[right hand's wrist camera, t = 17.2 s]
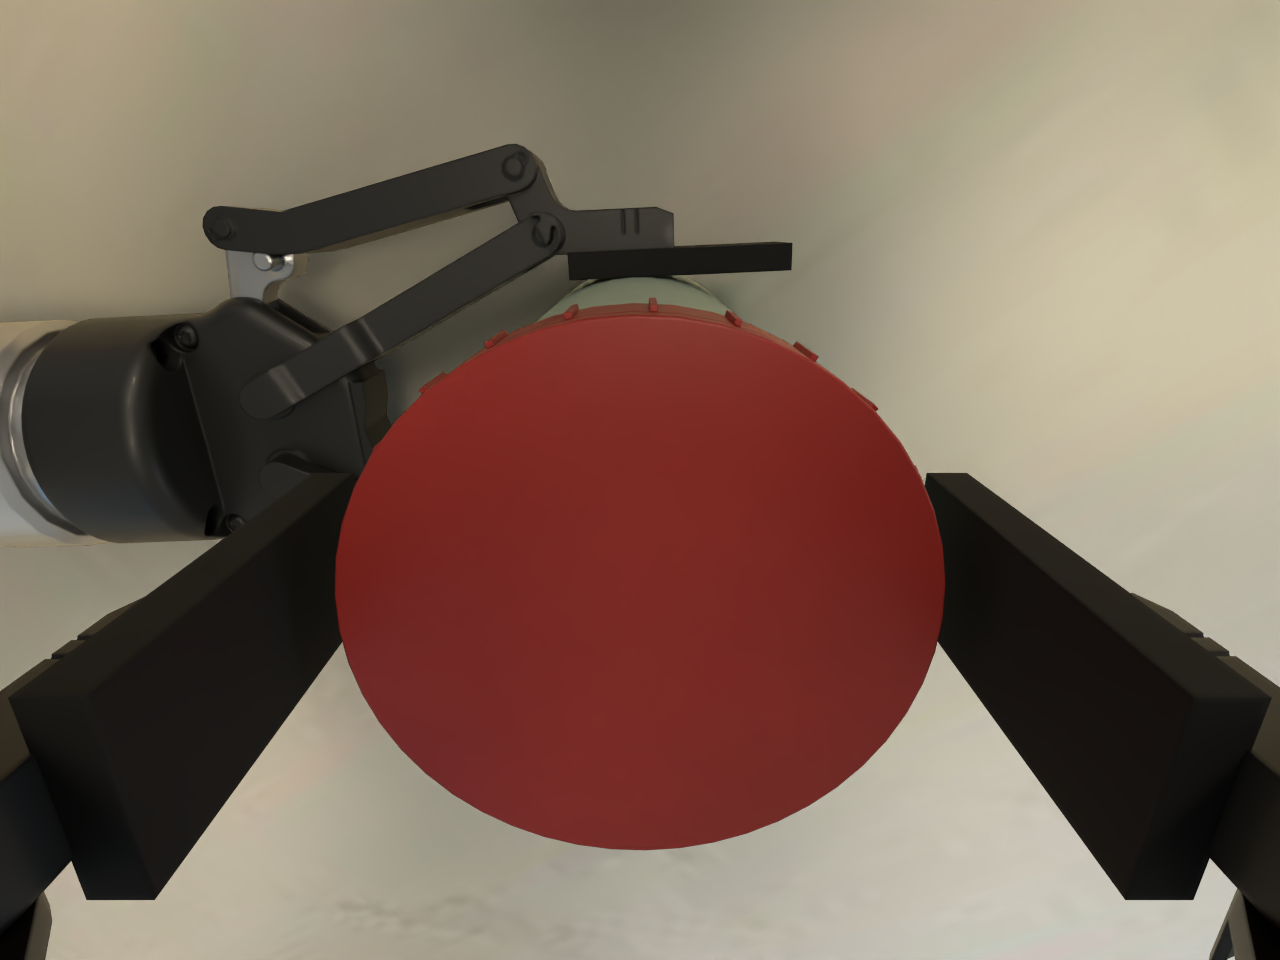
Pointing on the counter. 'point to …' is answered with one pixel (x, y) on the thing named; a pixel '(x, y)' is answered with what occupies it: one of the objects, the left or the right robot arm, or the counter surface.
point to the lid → (639, 578)
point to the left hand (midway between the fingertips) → (778, 404)
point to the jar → (639, 294)
